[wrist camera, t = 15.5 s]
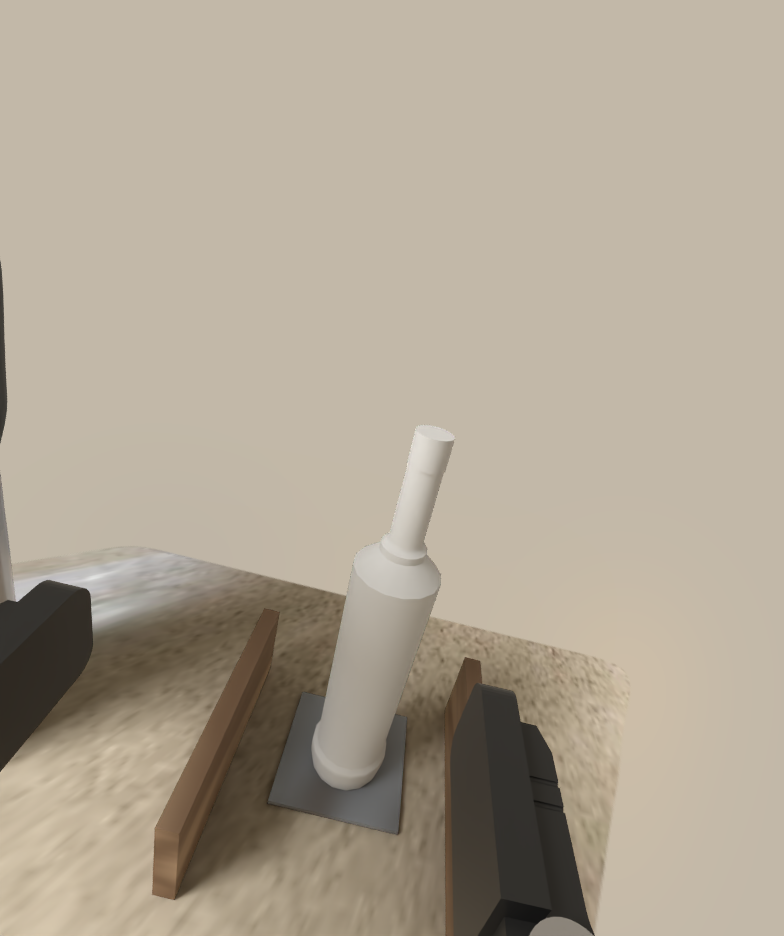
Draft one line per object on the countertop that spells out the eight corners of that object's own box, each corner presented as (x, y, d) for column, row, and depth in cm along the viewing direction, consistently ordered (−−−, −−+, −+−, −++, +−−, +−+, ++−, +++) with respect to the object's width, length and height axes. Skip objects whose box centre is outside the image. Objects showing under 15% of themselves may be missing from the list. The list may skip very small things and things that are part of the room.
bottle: (327, 713, 38) (401, 406, 28) (390, 741, 37) (490, 434, 27) (295, 773, 33) (371, 431, 23) (367, 807, 32) (478, 466, 22)
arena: (152, 894, 26) (154, 828, 24) (256, 664, 41) (264, 608, 38) (467, 970, 26) (502, 911, 24) (458, 713, 41) (480, 661, 38)
